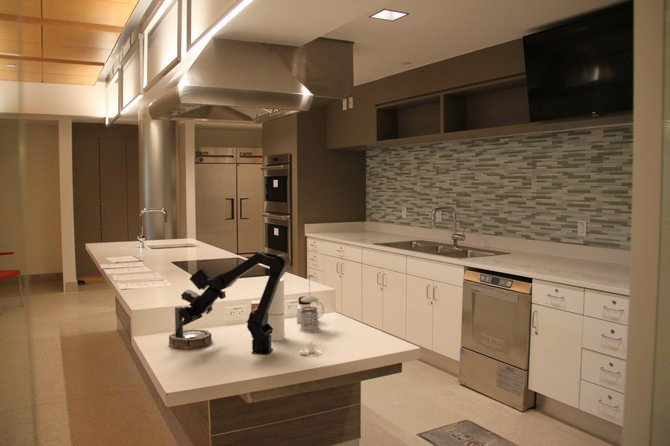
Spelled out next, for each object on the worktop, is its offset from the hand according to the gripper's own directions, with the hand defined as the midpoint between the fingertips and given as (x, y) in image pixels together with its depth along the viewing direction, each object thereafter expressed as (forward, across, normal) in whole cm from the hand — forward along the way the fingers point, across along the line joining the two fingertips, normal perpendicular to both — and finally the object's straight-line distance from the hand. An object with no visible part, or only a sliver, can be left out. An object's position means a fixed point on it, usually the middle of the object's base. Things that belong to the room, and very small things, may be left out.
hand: (182, 324), depth 215 cm
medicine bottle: (-19, -50, +32) cm, 62 cm away
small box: (-9, -30, +22) cm, 38 cm away
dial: (+5, -4, +6) cm, 9 cm away
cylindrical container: (-17, -18, +30) cm, 39 cm away
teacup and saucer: (-28, -3, +42) cm, 50 cm away
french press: (-24, -36, +38) cm, 57 cm away
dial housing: (+6, -4, +7) cm, 10 cm away
